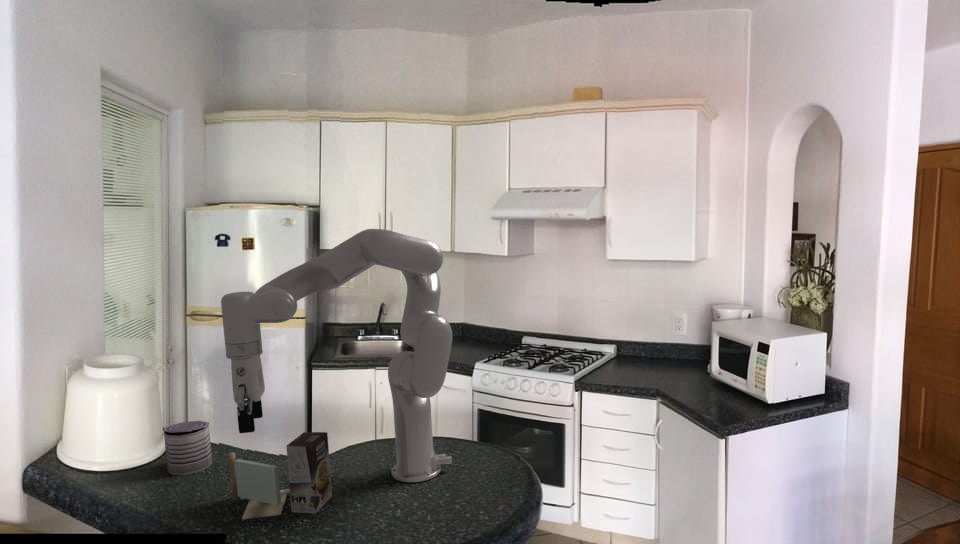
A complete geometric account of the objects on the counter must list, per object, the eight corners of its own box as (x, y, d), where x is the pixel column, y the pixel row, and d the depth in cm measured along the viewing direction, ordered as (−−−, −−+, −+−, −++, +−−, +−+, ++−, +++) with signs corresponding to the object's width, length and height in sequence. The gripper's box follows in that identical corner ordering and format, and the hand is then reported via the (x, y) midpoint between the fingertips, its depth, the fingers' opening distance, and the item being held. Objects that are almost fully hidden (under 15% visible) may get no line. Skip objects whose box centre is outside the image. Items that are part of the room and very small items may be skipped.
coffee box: (316, 514, 145) (311, 446, 144) (290, 513, 147) (284, 445, 145) (333, 495, 154) (328, 431, 152) (309, 494, 156) (303, 430, 154)
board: (287, 495, 156) (286, 493, 156) (280, 514, 146) (280, 513, 146) (250, 499, 155) (250, 497, 155) (242, 519, 145) (241, 517, 145)
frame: (307, 487, 160) (303, 443, 158) (306, 492, 157) (302, 448, 155) (233, 496, 157) (229, 451, 156) (231, 501, 154) (226, 456, 153)
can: (158, 471, 174) (153, 428, 173) (194, 455, 184) (190, 415, 183) (185, 478, 169) (181, 434, 167) (221, 461, 179) (217, 420, 177)
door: (238, 496, 154) (234, 460, 153) (241, 494, 155) (238, 458, 154) (277, 505, 149) (274, 468, 148) (281, 502, 150) (277, 466, 149)
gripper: (254, 356, 132) (261, 437, 134) (268, 338, 149) (275, 410, 151) (216, 359, 131) (224, 441, 133) (235, 341, 148) (242, 413, 150)
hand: (251, 424), depth 142 cm, fingers open, 8 cm apart
